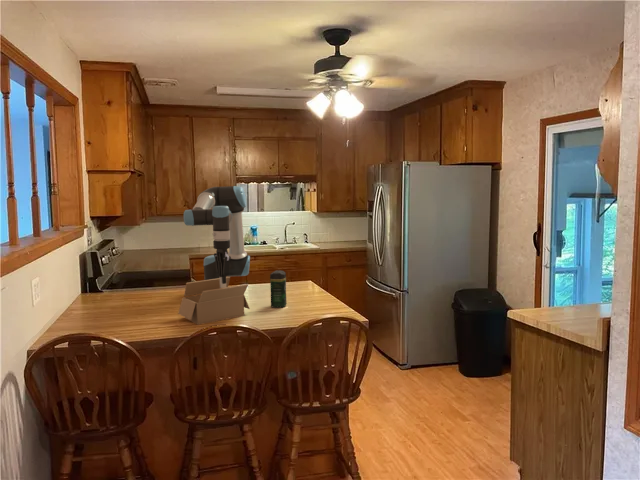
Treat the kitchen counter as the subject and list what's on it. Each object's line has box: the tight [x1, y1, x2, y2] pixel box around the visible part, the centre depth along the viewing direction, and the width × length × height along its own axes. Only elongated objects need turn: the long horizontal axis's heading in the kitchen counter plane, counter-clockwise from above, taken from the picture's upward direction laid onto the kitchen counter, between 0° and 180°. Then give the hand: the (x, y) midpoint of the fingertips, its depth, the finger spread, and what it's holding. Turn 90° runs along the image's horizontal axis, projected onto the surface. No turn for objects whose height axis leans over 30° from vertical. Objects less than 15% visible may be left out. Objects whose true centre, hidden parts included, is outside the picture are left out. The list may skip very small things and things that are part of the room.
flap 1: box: [183, 276, 231, 297], centre depth 252 cm, size 1×23×8 cm
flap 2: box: [199, 283, 249, 303], centre depth 237 cm, size 1×23×8 cm
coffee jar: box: [269, 269, 288, 309], centre depth 265 cm, size 10×8×19 cm
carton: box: [177, 294, 250, 326], centre depth 248 cm, size 16×31×10 cm, turn 127°
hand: (223, 290), depth 237 cm, fingers closed
